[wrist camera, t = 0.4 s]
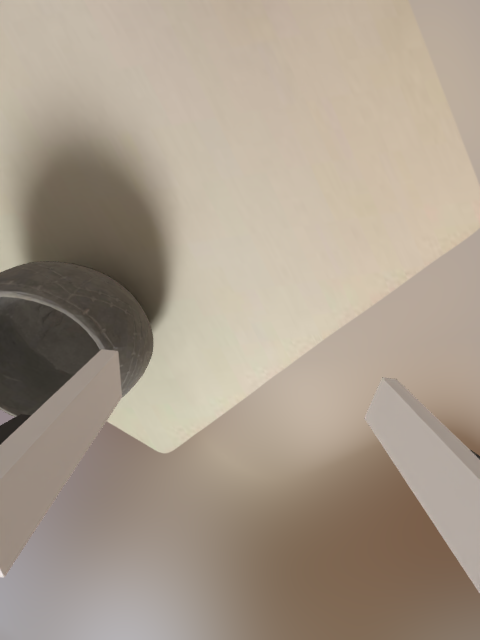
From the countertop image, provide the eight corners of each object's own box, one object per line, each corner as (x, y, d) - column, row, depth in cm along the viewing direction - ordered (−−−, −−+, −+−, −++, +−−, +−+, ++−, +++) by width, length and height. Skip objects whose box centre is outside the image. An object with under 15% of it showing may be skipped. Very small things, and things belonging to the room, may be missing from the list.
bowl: (189, 335, 41) (165, 391, 28) (101, 387, 45) (42, 458, 31) (104, 227, 34) (17, 227, 21) (9, 298, 38) (-119, 340, 24)
